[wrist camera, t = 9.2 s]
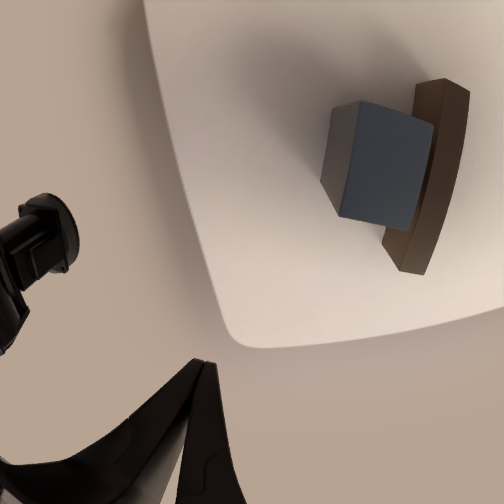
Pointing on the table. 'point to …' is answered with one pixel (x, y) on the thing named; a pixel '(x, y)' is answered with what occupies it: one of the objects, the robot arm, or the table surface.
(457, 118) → the walnut rail
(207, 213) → the table surface
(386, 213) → the slate block
